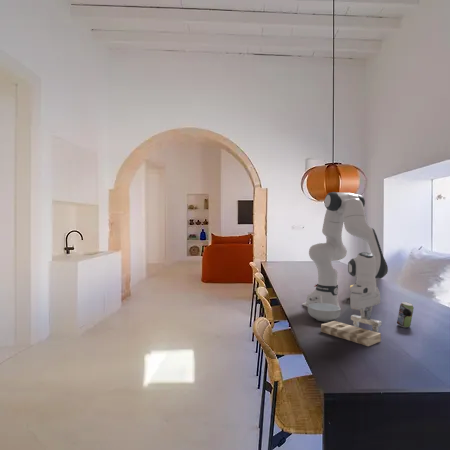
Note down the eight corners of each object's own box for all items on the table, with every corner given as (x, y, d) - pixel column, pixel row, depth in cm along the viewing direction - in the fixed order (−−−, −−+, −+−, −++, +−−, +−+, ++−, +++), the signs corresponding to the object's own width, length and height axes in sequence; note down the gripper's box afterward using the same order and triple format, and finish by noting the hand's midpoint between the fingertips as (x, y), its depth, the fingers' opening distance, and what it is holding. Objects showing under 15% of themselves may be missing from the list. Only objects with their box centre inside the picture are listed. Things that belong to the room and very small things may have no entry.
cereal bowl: (318, 325, 177) (318, 311, 177) (301, 316, 193) (301, 303, 193) (347, 322, 182) (347, 309, 182) (329, 314, 198) (329, 301, 198)
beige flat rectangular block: (321, 331, 167) (321, 324, 167) (333, 327, 173) (334, 320, 173) (368, 346, 148) (368, 338, 148) (380, 341, 154) (380, 333, 154)
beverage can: (398, 323, 180) (398, 300, 180) (414, 326, 175) (415, 302, 175) (395, 326, 175) (395, 302, 175) (411, 329, 170) (412, 304, 170)
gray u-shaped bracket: (350, 327, 173) (350, 307, 173) (354, 326, 175) (354, 306, 175) (377, 335, 162) (378, 313, 162) (381, 334, 164) (381, 312, 163)
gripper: (371, 283, 177) (371, 311, 177) (347, 288, 164) (347, 318, 165) (383, 285, 172) (383, 314, 172) (360, 290, 159) (359, 321, 160)
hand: (365, 316), depth 168 cm, fingers closed on gray u-shaped bracket, 3 cm apart
